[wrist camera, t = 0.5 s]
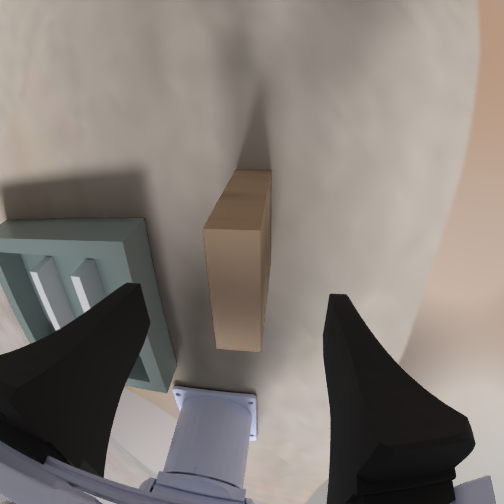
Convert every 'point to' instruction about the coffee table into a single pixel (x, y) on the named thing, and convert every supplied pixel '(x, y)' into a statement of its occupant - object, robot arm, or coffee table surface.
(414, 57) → the coffee table surface
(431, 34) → the coffee table surface
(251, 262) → the wood block
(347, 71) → the coffee table surface
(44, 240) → the slotted divider tray
